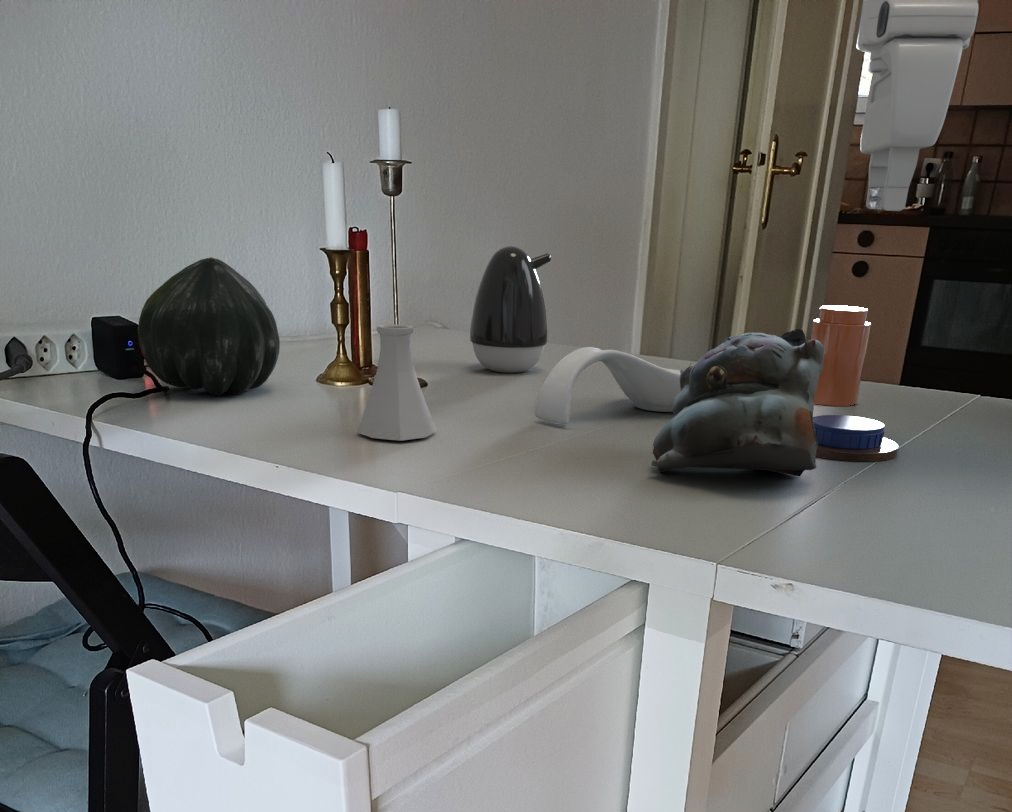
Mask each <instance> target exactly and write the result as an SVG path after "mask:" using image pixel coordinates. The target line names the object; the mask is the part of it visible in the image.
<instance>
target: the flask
mask: <svg viewBox="0 0 1012 812" xmlns="http://www.w3.org/2000/svg"><path fill="white" fill-rule="evenodd" d="M376 332H377V334H379V338H380V339H379V340H380V342H379V343H380V350H379V357H378V362H377V363H378V364H377V369H376V373H375V376H374V379H373V382H372V385H371V388H370V392H369V395H368V399H367V401H366V404H365V406H364V410H363V412H362V416H361V418H360V422H359V424H358V427H357V430H356V433H358V434H361V435H364V436H366V437H369V438H371V439H377V440H378V439H379V440H389V441H400V442H401V441H408V440H416V439H424V438H428V437H430V436H431V435H433V434H435V433H436V432H437V429H436V425H435V423H434V421H433V417H432V415H431V413H430V410H429V407H428V405H427V402H426V400H425V396H424V394H423V391H422V387H421V384H420V382H419V379H418V377H417V373H416V371H415V366H414V360H413V356H412V349H411V335H412V334H413V333H414V326H412V325H407V324H398V323H397V324H396V323H391V324H390V323H389V324H381V325H377V326H376Z"/></svg>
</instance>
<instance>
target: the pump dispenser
mask: <svg viewBox="0 0 1012 812" xmlns="http://www.w3.org/2000/svg"><path fill="white" fill-rule="evenodd" d="M551 261H552V256H551V255H550V253H548V252H547V253H544V254H541V255H538V256H535V257H533V258H530V257H529V255H528V253H527V252H526V251H524V250H523V249H522V248H520V247H517V246H513V245H508V246H504V247H501V248H499V249H498V250H497V251H495V253H494V254H493V255H492V256H491V258H490V259H489V261H488V263H487V265H486V267H485V269H484V272H483V274H482V277H481V279H480V282H479V285H478V288H477V291H476V295H475V299H474V304H473V307H472V315H471V319H470V320H471V321H470V329H469V341H470V343H472V349H473V352H474V355H475V358H476V359H477V361H478V363H480V364H481V366H483V367H484V368H486V369H487V370H489V371H492V372H497V373H509V374H510V373H511V374H513V373H514V374H515V373H516V374H517V373H524V372H526V371H529V370H530V369H532V368H534V367H535V366H536V365H537V364H538V363H539V361H540V360H541V358H542V356H543V353H544V349H545V345H547V343H548V320H547V312H546V311H547V310H546V304H545V300H544V293H543V289H542V286H541V283H540V280H539V276H538V273H537V270H538V269H540V268H541V267H543V266H545V265H546V264H548V263H549V262H551Z"/></svg>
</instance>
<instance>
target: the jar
mask: <svg viewBox="0 0 1012 812" xmlns="http://www.w3.org/2000/svg"><path fill="white" fill-rule="evenodd" d="M818 310H819V317H818V318H816V319H813V321H812V328H811V335H810V340H811V339H815V340H818V341H819V342H821V344H822V345H824V350H825V352H824V356H823V370H822V372H821V373H820V375H819V379H818V386H817V389H816V393H815V397H814V405H818V406H819V405H820V406H828V407H829V406H830V407H851V406H855V405H857V404H858V400H859V395H860V388H861V383H862V377H863V372H864V371H863V370H864V367H865V361H866V355H867V348H868V343H869V337H870V332H871V326H872V323H871V322H868V321H867V317H868V312H869V309H868V308H864V307H859V306H848V305H822V306H820V307H819V309H818ZM856 403H857V404H856ZM854 404H855V405H854ZM850 405H851V406H850Z"/></svg>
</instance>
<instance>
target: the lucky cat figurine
mask: <svg viewBox="0 0 1012 812" xmlns="http://www.w3.org/2000/svg"><path fill="white" fill-rule="evenodd" d="M824 352H825V350H824V345H822V344H821V342H819V341H818V340H815V339H811V338H810V339H808V340H807V339H806V333H805V332H804V330H803V329H801V328H795V329H792V330H791V331H786V332H784V333H783V334H782V335H781V336H779V335H775V334H766V333H764V332H745V333H743V334H737V335H733V336H729V337H726V338H725V340H723V341H722V342H721V344H719V345H718V346H716V347H715V348H712V349H710V350H708V351H707V352H706V353H705V354H704V355H702V356H701V357H699V359H698V360H697V361H696V362H695V363H692V362H690V365H689V366H688V367H686V368H685V369H682V368H681V369H680V372H681V374H680V388H681V392H680V393H679V394H678V395H677V396H676V398H675V399H674V405H673V408H672V410H673V412H672V413H673V415H674V416H673V417H672V418H670V420H668V421H667V422H666V423H665V424H664V425H663V426H662V428H661V429H660V430H659V431H658V433H657V434H656V436H655V438H654V439H653V443H652V446H653V449H652V454H653V456H654V459H655V460H652V461H651V466H653V467H656V468H657V470H658V471H659V473H660V474H662V473H664V472H667V471H671V470H674V469H684V468H701V469H702V468H703V469H729V470H730V469H731V470H735V469H736V470H753V471H754V470H757V471H758V470H759V471H768V472H774V473H779V474H784V475H788V476H795V477H801V476H802V475H803V473H804V472H805V471H812V470H815V469H817V462H816V461H817V460H816V449H817V437H816V433H815V429H814V423H813V417H814V408H815V407H814V405H815V404H814V397H815V393H816V389H817V386H818V379H819V375H820V373H821V372H822V370H823V356H824Z"/></svg>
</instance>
